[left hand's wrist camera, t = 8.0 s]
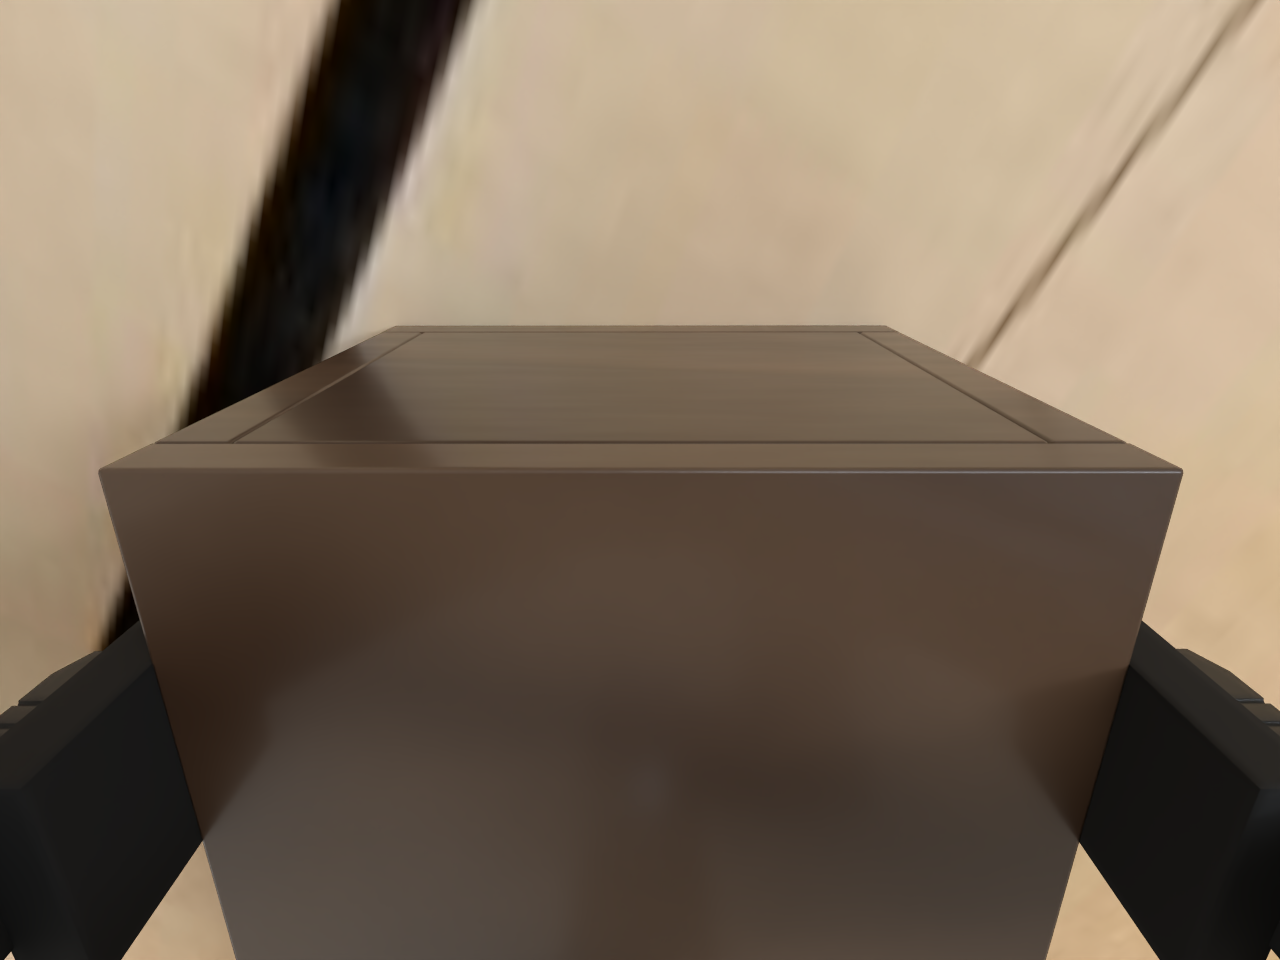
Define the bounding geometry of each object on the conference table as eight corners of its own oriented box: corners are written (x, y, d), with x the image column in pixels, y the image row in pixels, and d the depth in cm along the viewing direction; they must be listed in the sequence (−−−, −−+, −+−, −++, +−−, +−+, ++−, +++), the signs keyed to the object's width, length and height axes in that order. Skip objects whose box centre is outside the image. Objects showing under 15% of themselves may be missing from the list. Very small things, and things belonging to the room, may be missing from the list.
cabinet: (809, 979, 24) (910, 1442, 15) (472, 978, 24) (371, 1441, 15) (887, 325, 17) (1186, 469, 7) (394, 325, 17) (94, 469, 7)
